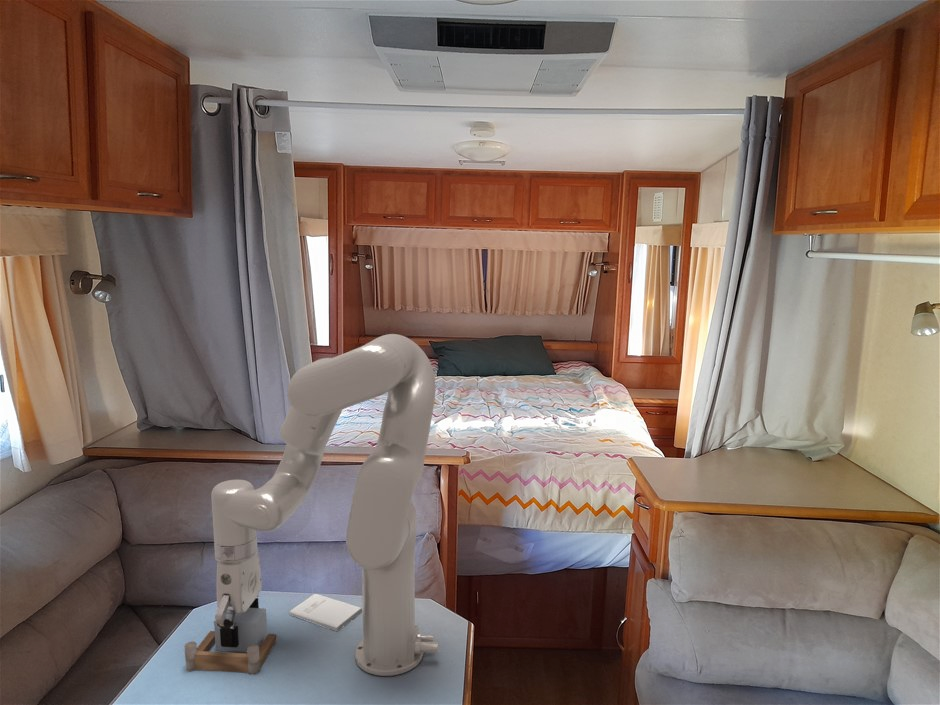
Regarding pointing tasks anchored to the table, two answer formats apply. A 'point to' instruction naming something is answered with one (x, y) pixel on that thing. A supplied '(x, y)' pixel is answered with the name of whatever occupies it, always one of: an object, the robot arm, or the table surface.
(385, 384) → the robot arm
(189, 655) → the frame
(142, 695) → the table surface
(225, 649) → the tall white block
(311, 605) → the external hard drive
